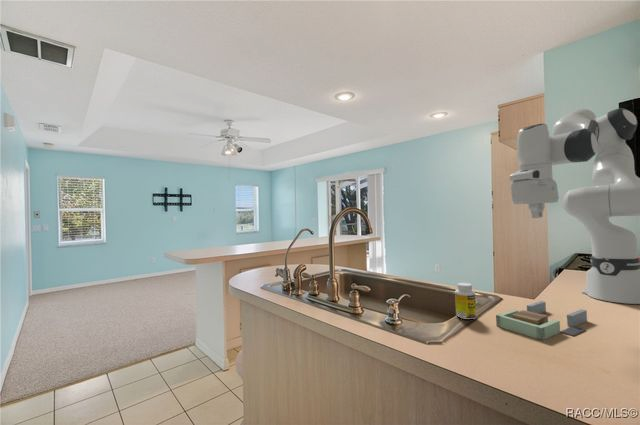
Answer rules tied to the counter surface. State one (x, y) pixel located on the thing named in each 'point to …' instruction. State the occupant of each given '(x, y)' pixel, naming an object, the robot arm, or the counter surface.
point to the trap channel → (544, 329)
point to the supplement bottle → (465, 301)
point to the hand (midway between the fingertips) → (537, 217)
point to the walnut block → (530, 317)
